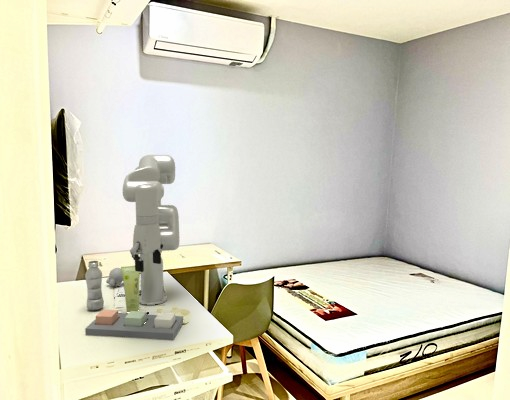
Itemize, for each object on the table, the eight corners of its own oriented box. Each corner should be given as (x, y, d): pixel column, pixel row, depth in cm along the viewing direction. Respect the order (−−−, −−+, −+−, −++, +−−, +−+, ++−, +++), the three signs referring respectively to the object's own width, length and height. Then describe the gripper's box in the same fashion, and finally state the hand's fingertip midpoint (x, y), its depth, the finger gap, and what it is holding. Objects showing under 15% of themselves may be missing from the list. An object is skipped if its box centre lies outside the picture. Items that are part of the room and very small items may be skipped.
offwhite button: (159, 321, 155) (159, 312, 154) (175, 321, 154) (175, 313, 154) (154, 328, 149) (154, 319, 148) (170, 329, 148) (170, 320, 148)
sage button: (131, 319, 155) (131, 310, 155) (146, 320, 155) (146, 311, 154) (125, 326, 150) (124, 317, 149) (141, 327, 149) (140, 318, 149)
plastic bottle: (98, 313, 165) (96, 265, 162) (83, 311, 167) (81, 263, 164) (107, 306, 172) (105, 260, 169) (92, 305, 173) (90, 259, 170)
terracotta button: (103, 318, 156) (102, 309, 156) (118, 318, 156) (118, 310, 155) (95, 325, 150) (95, 316, 150) (111, 325, 150) (111, 316, 149)
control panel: (103, 318, 161) (102, 312, 160) (183, 322, 158) (183, 316, 158) (85, 335, 147) (85, 328, 147) (173, 340, 144) (173, 333, 144)
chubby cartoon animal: (132, 290, 197) (138, 273, 198) (108, 286, 190) (115, 268, 190) (127, 286, 203) (133, 269, 203) (103, 281, 196) (110, 264, 196)
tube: (131, 316, 163) (130, 268, 160) (122, 313, 166) (120, 266, 163) (142, 311, 168) (140, 264, 165) (133, 308, 170) (131, 262, 168)
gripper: (153, 214, 152) (154, 259, 154) (121, 223, 136) (123, 273, 139) (171, 216, 149) (171, 262, 151) (139, 225, 133) (141, 276, 136)
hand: (148, 267), depth 145 cm, fingers open, 9 cm apart
